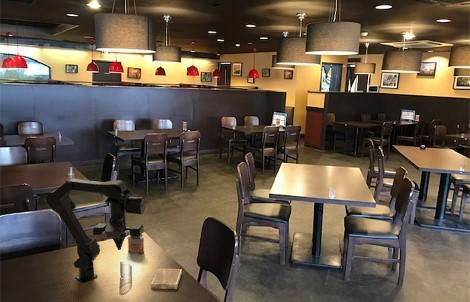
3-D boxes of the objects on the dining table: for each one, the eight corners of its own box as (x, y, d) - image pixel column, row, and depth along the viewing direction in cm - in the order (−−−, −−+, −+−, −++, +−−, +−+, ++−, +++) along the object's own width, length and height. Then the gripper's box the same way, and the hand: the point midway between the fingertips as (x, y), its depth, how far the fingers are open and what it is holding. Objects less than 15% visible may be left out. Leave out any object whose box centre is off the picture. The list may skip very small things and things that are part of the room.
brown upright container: (126, 253, 173) (126, 233, 172) (130, 250, 177) (129, 230, 175) (142, 255, 172) (141, 235, 170) (145, 252, 175) (145, 232, 173)
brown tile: (151, 283, 144) (176, 284, 144) (158, 268, 156) (181, 269, 156) (151, 289, 144) (176, 290, 144) (158, 273, 156) (181, 274, 156)
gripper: (85, 219, 138) (88, 258, 140) (135, 221, 137) (136, 260, 140) (98, 209, 148) (99, 245, 151) (143, 210, 148) (144, 247, 151)
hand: (119, 249), depth 148 cm, fingers closed
